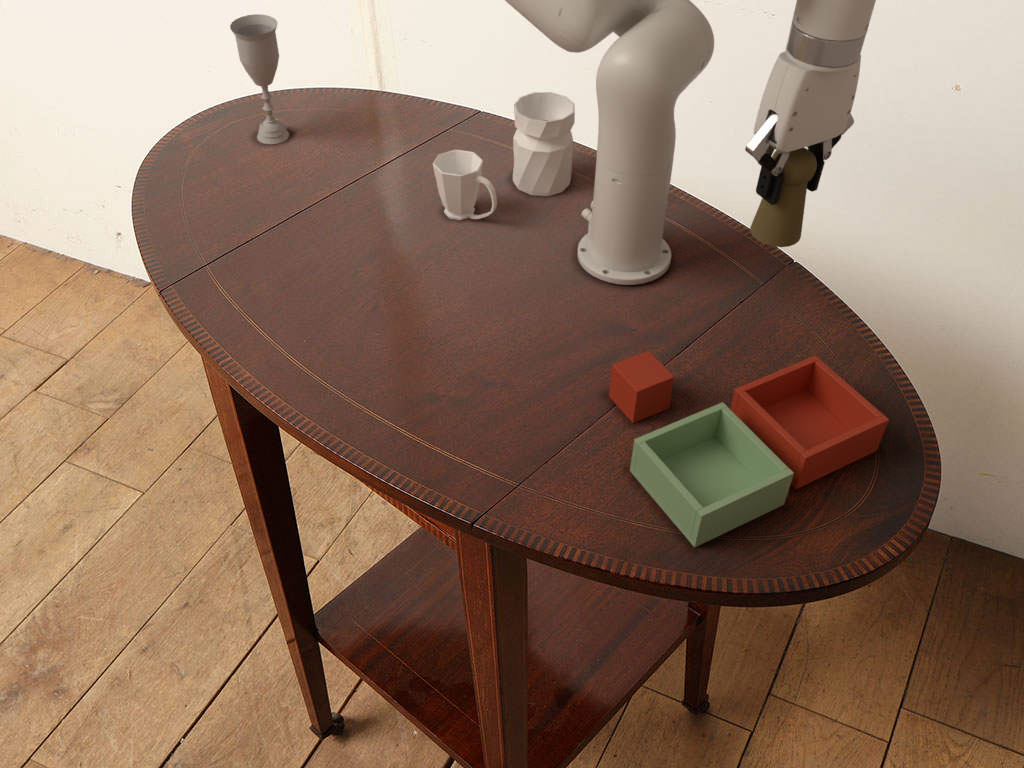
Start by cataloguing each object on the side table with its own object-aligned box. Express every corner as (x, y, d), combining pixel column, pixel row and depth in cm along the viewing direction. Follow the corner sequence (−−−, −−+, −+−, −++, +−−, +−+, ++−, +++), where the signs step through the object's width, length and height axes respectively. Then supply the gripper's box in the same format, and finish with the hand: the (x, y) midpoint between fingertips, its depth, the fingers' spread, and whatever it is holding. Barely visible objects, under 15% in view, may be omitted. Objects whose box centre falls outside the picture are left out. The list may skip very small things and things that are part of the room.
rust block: (608, 396, 114) (612, 364, 111) (644, 382, 116) (648, 350, 112) (632, 423, 111) (637, 391, 108) (669, 408, 113) (674, 376, 109)
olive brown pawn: (794, 217, 121) (816, 137, 113) (806, 247, 117) (830, 166, 109) (745, 217, 121) (764, 137, 113) (756, 247, 116) (776, 166, 109)
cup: (455, 192, 145) (454, 143, 139) (510, 216, 140) (511, 166, 135) (424, 213, 140) (421, 164, 135) (480, 239, 136) (479, 189, 131)
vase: (553, 202, 143) (557, 128, 135) (501, 185, 146) (502, 111, 138) (580, 174, 149) (586, 101, 140) (530, 158, 152) (532, 86, 143)
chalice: (253, 125, 158) (232, 15, 146) (296, 123, 159) (279, 13, 146) (249, 148, 153) (227, 36, 140) (293, 146, 153) (276, 34, 141)
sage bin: (629, 470, 106) (634, 439, 102) (715, 433, 110) (722, 401, 107) (694, 547, 99) (701, 516, 95) (784, 504, 103) (794, 473, 99)
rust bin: (727, 420, 112) (734, 388, 108) (805, 386, 116) (815, 355, 112) (795, 489, 104) (805, 458, 101) (876, 451, 108) (889, 419, 105)
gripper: (860, 13, 107) (819, 159, 120) (737, 44, 101) (707, 194, 114) (911, 41, 103) (862, 189, 116) (785, 75, 97) (749, 228, 109)
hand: (786, 190), depth 115 cm, fingers closed on olive brown pawn, 5 cm apart
